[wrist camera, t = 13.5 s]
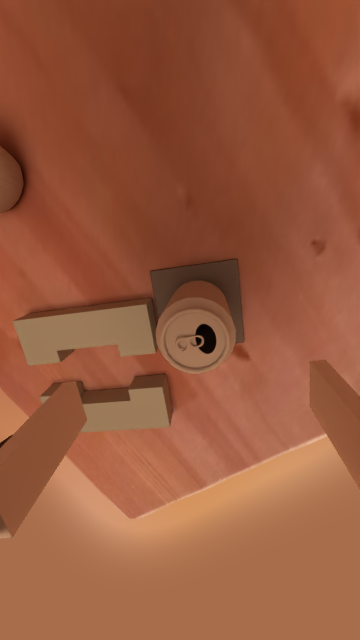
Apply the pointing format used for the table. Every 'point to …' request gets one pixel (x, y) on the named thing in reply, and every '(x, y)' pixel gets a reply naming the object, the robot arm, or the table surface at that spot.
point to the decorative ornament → (9, 181)
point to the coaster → (214, 272)
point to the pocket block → (100, 330)
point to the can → (196, 328)
